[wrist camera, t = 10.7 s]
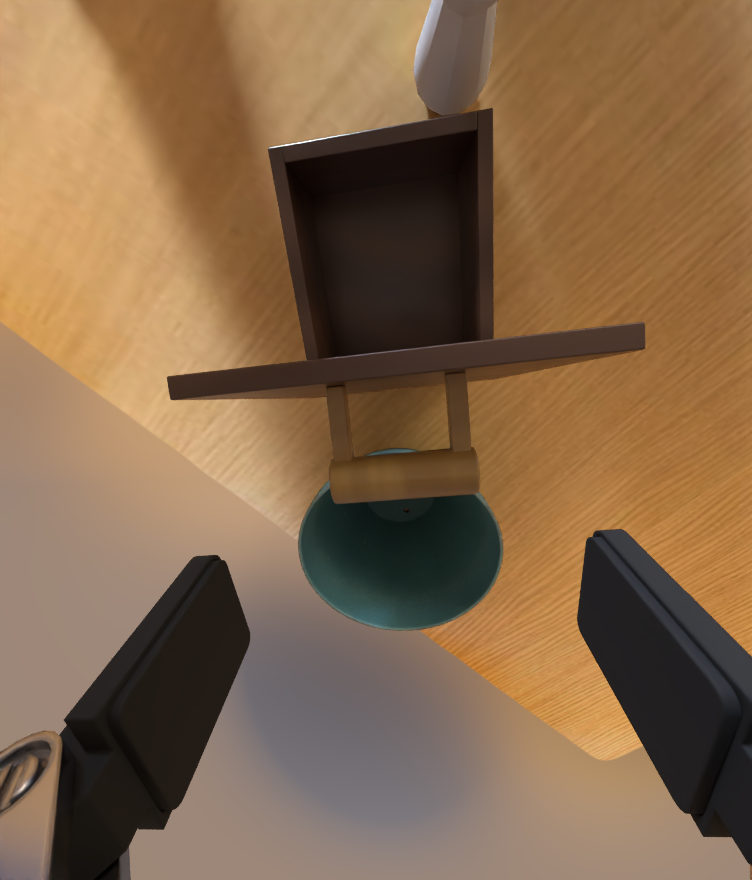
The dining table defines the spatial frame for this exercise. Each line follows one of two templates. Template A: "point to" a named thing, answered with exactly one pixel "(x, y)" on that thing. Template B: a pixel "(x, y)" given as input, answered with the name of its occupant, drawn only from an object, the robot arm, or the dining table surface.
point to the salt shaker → (454, 53)
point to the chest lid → (399, 371)
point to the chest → (390, 235)
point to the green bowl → (401, 557)
